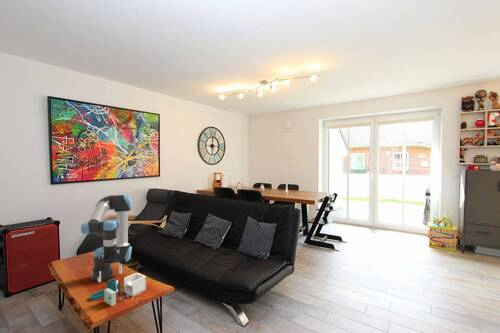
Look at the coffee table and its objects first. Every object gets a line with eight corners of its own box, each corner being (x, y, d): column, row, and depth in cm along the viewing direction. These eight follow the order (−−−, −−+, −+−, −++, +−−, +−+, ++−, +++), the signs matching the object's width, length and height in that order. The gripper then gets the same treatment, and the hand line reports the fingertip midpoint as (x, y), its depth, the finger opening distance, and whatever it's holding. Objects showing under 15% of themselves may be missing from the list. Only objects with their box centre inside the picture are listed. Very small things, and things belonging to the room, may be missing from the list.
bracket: (116, 287, 179) (116, 277, 179) (120, 290, 175) (120, 279, 174) (88, 298, 165) (88, 287, 164) (92, 302, 160) (92, 290, 160)
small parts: (112, 296, 167) (112, 281, 167) (119, 292, 171) (119, 278, 171) (121, 301, 161) (121, 286, 161) (128, 297, 165) (128, 283, 165)
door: (102, 302, 160) (102, 290, 160) (108, 299, 163) (108, 288, 163) (110, 306, 155) (110, 294, 155) (115, 304, 158) (115, 292, 158)
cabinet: (124, 291, 173) (123, 277, 173) (137, 285, 181) (137, 272, 181) (133, 296, 167) (132, 282, 167) (146, 290, 175) (146, 276, 175)
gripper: (92, 252, 146) (92, 287, 147) (131, 240, 167) (131, 271, 168) (86, 249, 150) (86, 283, 151) (125, 239, 171) (125, 269, 172)
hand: (110, 277), depth 159 cm, fingers open, 13 cm apart
